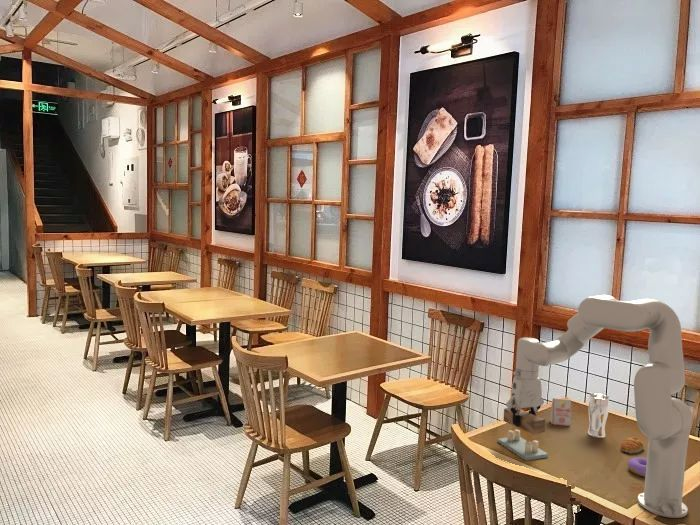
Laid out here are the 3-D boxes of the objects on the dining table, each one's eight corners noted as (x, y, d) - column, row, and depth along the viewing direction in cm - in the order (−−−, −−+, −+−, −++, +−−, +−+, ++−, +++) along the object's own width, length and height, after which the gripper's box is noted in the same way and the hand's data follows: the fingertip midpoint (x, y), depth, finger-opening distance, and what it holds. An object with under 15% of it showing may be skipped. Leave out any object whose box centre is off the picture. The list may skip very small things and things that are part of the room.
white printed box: (550, 421, 228) (552, 396, 227) (568, 422, 227) (569, 398, 226) (552, 424, 224) (553, 399, 223) (570, 426, 223) (571, 401, 222)
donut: (630, 461, 192) (635, 448, 191) (660, 475, 186) (664, 462, 185) (622, 471, 184) (627, 458, 183) (653, 486, 179) (658, 473, 177)
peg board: (547, 457, 193) (548, 444, 193) (525, 460, 190) (526, 447, 190) (518, 439, 208) (519, 426, 208) (497, 441, 205) (498, 429, 205)
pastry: (635, 457, 197) (636, 446, 196) (615, 450, 201) (615, 440, 201) (645, 449, 203) (645, 439, 203) (625, 443, 208) (626, 433, 207)
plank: (544, 432, 194) (545, 419, 194) (534, 434, 191) (535, 421, 191) (513, 418, 206) (513, 406, 205) (503, 421, 203) (504, 408, 203)
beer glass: (585, 435, 213) (588, 397, 212) (587, 429, 220) (590, 392, 218) (605, 439, 210) (608, 400, 209) (607, 433, 216) (610, 395, 215)
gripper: (512, 378, 190) (509, 431, 192) (554, 375, 196) (551, 425, 198) (499, 372, 197) (496, 422, 199) (540, 369, 203) (537, 418, 205)
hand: (523, 423), depth 198 cm, fingers closed on plank, 5 cm apart
